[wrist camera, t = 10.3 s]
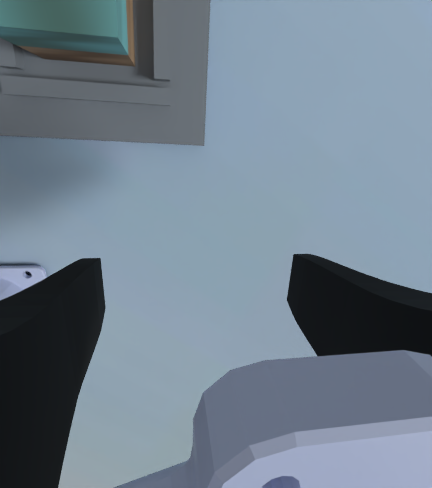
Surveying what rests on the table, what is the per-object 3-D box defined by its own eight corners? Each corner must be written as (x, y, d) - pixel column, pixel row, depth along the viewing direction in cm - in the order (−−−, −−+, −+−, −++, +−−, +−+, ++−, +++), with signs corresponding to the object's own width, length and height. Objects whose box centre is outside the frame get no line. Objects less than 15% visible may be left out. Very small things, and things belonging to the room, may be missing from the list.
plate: (-13, 133, 17) (-34, 135, 15) (-74, -174, 13) (-114, -222, 11) (202, 144, 19) (206, 147, 17) (213, -120, 15) (219, -154, 13)
